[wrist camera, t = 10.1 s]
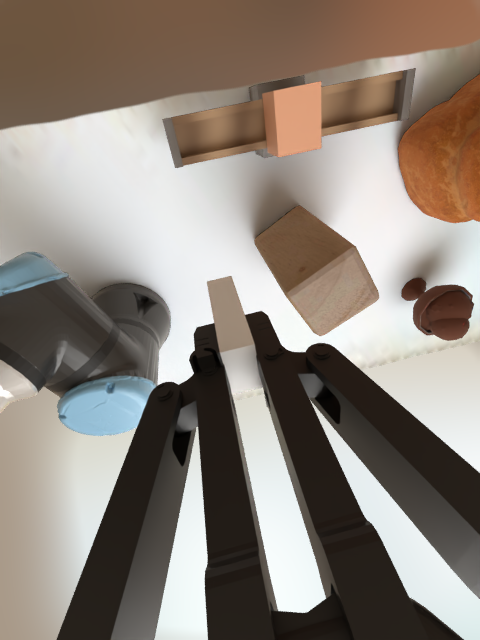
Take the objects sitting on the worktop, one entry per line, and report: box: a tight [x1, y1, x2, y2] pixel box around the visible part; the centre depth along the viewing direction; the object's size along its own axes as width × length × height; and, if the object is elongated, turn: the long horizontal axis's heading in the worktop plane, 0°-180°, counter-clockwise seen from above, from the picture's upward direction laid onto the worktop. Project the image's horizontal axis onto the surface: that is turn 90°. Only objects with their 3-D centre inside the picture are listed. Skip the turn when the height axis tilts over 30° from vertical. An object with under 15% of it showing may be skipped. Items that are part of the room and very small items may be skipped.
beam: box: [162, 68, 416, 168], centre depth 39 cm, size 30×8×9 cm, turn 99°
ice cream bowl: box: [402, 278, 474, 341], centre depth 59 cm, size 11×11×15 cm
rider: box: [262, 81, 321, 157], centre depth 34 cm, size 5×6×6 cm
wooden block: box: [254, 206, 379, 336], centre depth 46 cm, size 10×10×20 cm
